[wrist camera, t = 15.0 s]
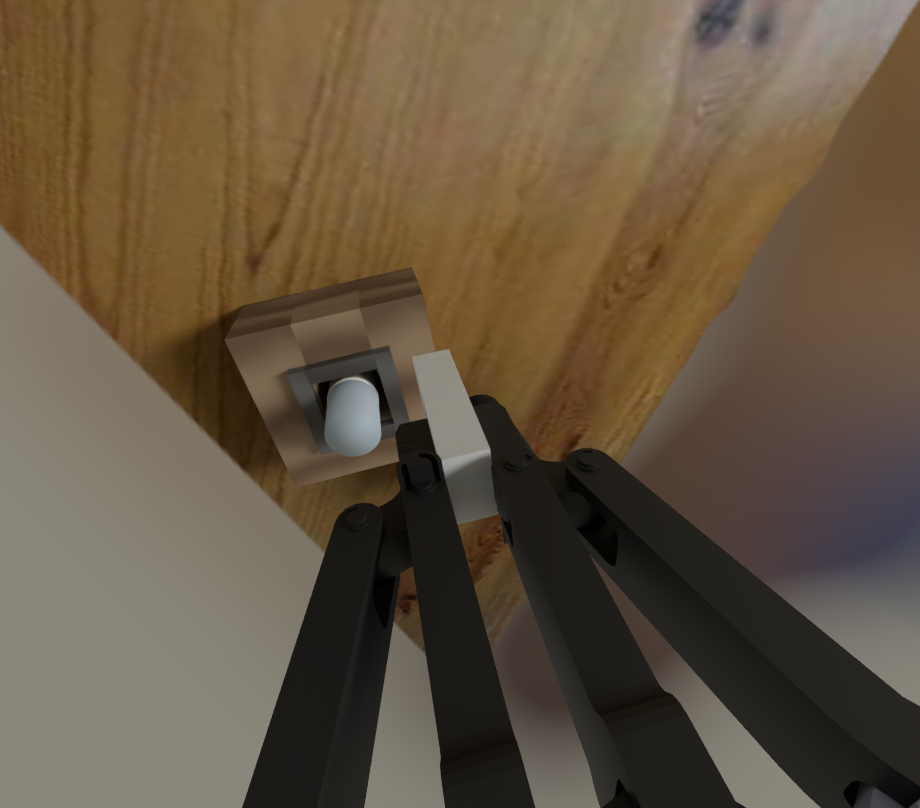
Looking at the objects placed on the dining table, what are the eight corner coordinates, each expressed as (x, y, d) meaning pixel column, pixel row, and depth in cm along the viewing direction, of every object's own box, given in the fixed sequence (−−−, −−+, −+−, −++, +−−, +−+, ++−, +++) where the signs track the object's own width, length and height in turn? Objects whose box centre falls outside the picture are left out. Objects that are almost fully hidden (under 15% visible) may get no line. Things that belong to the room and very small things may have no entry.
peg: (324, 351, 46) (316, 417, 36) (369, 342, 46) (374, 404, 36) (337, 390, 48) (333, 462, 38) (380, 381, 49) (387, 449, 38)
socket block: (243, 305, 43) (221, 345, 36) (411, 267, 45) (424, 297, 37) (303, 440, 52) (295, 494, 44) (442, 405, 53) (457, 452, 46)
